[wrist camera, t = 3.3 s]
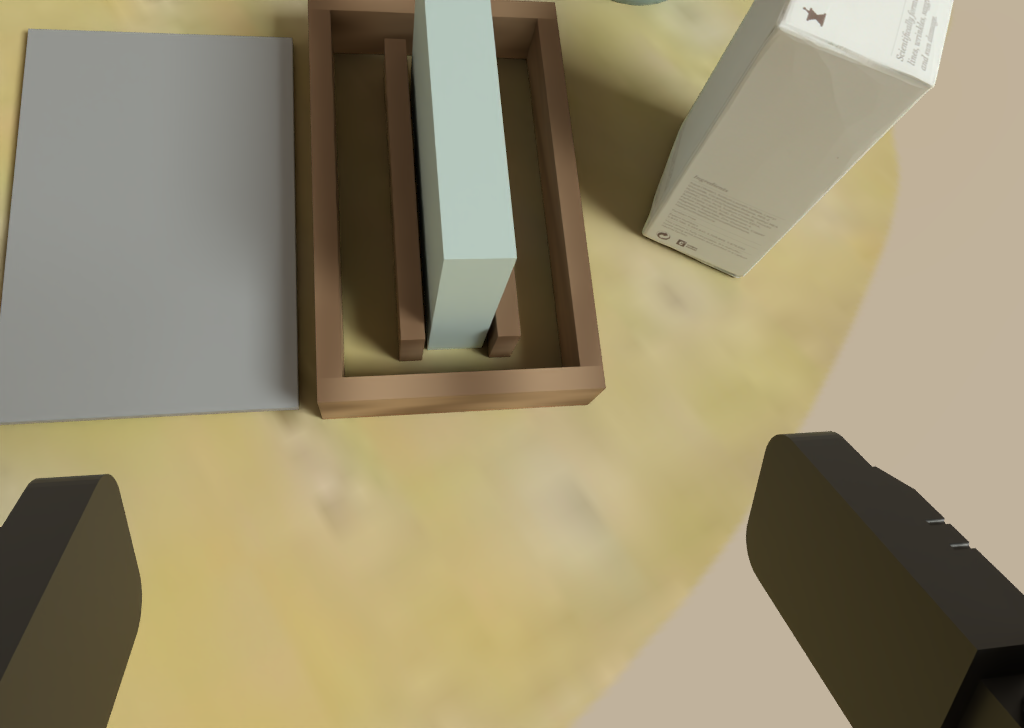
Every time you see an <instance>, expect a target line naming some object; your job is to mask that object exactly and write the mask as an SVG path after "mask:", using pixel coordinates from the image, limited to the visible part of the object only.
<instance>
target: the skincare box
mask: <svg viewBox="0 0 1024 728" xmlns="http://www.w3.org/2000/svg"><path fill="white" fill-rule="evenodd" d="M953 1H954V0H754V2H753V4H752V6H751V7H750V9H749V11H748V12H747V14H746V16H745V18H744V19H743V21H742V23H741V24H740V26H739V28H738V29H737V31H736V33H735V35H734V36H733V38H732V40H731V41H730V43H729V45H728V47H727V48H726V50H725V52H724V53H723V55H722V57H721V59H720V60H719V62H718V64H717V65H716V67H715V69H714V70H713V72H712V74H711V76H710V77H709V79H708V81H707V82H706V84H705V86H704V87H703V89H702V91H701V93H700V94H699V96H698V98H697V99H696V101H695V103H694V104H693V106H692V108H691V110H690V111H689V113H688V115H687V117H686V118H685V119H684V121H683V123H682V125H681V127H680V129H679V132H678V134H677V137H676V139H675V142H674V145H673V147H672V150H671V153H670V155H669V158H668V161H667V164H666V166H665V169H664V172H663V174H662V177H661V180H660V183H659V185H658V188H657V191H656V194H655V197H654V200H653V204H652V208H651V211H650V214H649V216H648V219H647V221H646V223H645V225H644V228H643V230H642V234H643V235H644V236H646V237H648V238H650V239H652V240H654V241H656V242H658V243H661V244H663V245H666V246H669V247H671V248H673V249H675V250H677V251H679V252H682V253H684V254H686V255H688V256H690V257H692V258H695V259H696V260H698V261H700V262H702V263H704V264H707V265H709V266H711V267H713V268H716V269H718V270H720V271H722V272H725V273H727V274H729V275H731V276H733V277H736V278H740V277H743V276H745V275H746V274H747V273H748V272H749V271H750V270H751V269H752V268H753V267H754V266H755V265H756V264H757V263H758V262H759V261H760V260H761V259H762V258H763V257H764V256H765V255H766V254H767V253H768V252H769V251H770V250H771V249H772V248H773V247H774V245H775V244H776V243H777V242H778V241H779V240H780V239H781V238H782V237H783V236H784V235H785V234H786V233H787V232H788V231H789V230H790V229H791V228H792V227H793V226H794V225H795V224H796V223H797V222H798V221H799V220H800V219H801V218H802V217H803V216H805V215H806V214H807V213H808V211H809V210H810V209H811V208H812V207H813V206H814V205H815V204H816V203H817V202H818V201H819V200H820V199H821V198H822V197H823V196H824V195H825V194H826V193H827V192H828V191H829V190H830V189H831V188H832V187H833V186H834V185H835V184H836V183H837V182H838V181H839V180H840V179H841V178H842V177H843V176H844V175H845V174H846V173H847V172H848V171H849V170H850V169H851V168H852V167H853V166H854V165H855V164H856V163H857V162H858V160H859V159H860V158H861V157H862V156H863V155H864V154H865V153H866V152H867V151H868V150H869V149H870V148H871V147H872V146H873V145H874V144H875V143H876V142H877V141H878V140H879V139H880V138H881V137H882V136H883V135H884V134H885V133H886V132H887V131H888V130H889V129H890V128H891V127H892V126H893V125H894V124H895V123H896V122H897V121H898V120H899V119H900V118H901V117H902V116H903V115H904V114H905V113H906V112H907V111H908V110H909V109H910V108H911V107H912V106H913V105H914V104H915V103H916V102H917V101H918V100H919V99H920V98H921V97H922V96H923V95H924V94H925V93H927V91H929V90H930V89H931V88H933V87H934V85H935V82H936V78H937V74H938V69H939V65H940V60H941V55H942V51H943V46H944V42H945V37H946V33H947V28H948V24H949V19H950V15H951V10H952V6H953Z"/></svg>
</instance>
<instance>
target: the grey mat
mask: <svg viewBox="0 0 1024 728" xmlns="http://www.w3.org/2000/svg"><path fill="white" fill-rule="evenodd" d="M296 409H299V388H298V326H297V265H296V203H295V141H294V80H293V41H292V38H284V37H254V36H225V35H195V34H165V33H136V32H106V31H77V30H47V29H28V39H27V49H26V59H25V70H24V80H23V90H22V100H21V110H20V120H19V130H18V140H17V150H16V161H15V171H14V181H13V191H12V201H11V211H10V221H9V231H8V242H7V252H6V262H5V272H4V282H3V292H2V302H1V312H0V425H8V424H27V423H46V422H66V421H85V420H104V419H123V418H142V417H161V416H181V415H200V414H219V413H238V412H257V411H276V410H296Z"/></svg>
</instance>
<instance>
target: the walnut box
mask: <svg viewBox="0 0 1024 728" xmlns="http://www.w3.org/2000/svg"><path fill="white" fill-rule="evenodd" d="M490 2H491V12H492V21H493V31H494V41H495V50H496V58H518V59H527V67H528V76H529V84H530V93H531V102H532V110H533V119H534V127H535V136H536V144H537V153H538V162H539V170H540V179H541V187H542V196H543V205H544V213H545V222H546V230H547V239H548V247H549V256H550V265H551V273H552V282H553V290H554V299H555V307H556V316H557V325H558V333H559V342H560V350H561V359H562V368H540V369H518V370H495V371H473V372H451V373H429V374H407V375H385V376H363V377H345V370H344V340H343V311H342V281H341V252H340V222H339V192H338V163H337V133H336V103H335V74H334V53H355V54H384V88H385V106H386V124H387V143H388V161H389V179H390V197H391V216H392V234H393V252H394V270H395V289H396V307H397V325H398V343H399V361H415V360H422V355H423V349H424V343H425V328H424V313H423V298H422V282H421V267H420V252H419V236H418V221H417V206H416V190H415V175H414V160H413V144H412V129H411V113H410V98H409V83H408V67H407V55H412V49H413V31H414V13H415V0H308V24H309V67H310V110H311V153H312V196H313V240H314V283H315V326H316V369H317V403H318V406H319V409H320V413H321V416H322V419H336V418H354V417H373V416H391V415H409V414H428V413H446V412H464V411H482V410H501V409H519V408H537V407H555V406H574V405H588V404H589V403H590V402H591V401H592V400H593V399H594V398H596V397H597V396H598V395H599V394H600V393H601V392H602V391H603V390H604V389H605V388H606V386H605V378H604V371H603V363H602V356H601V348H600V341H599V333H598V325H597V318H596V310H595V303H594V295H593V288H592V280H591V272H590V265H589V257H588V250H587V242H586V234H585V227H584V219H583V212H582V204H581V197H580V189H579V181H578V174H577V166H576V159H575V151H574V144H573V136H572V128H571V121H570V113H569V106H568V98H567V90H566V83H565V75H564V68H563V60H562V53H561V45H560V37H559V30H558V22H557V15H556V7H555V2H532V1H510V0H490ZM520 337H521V330H520V320H519V310H518V300H517V290H516V281H515V271H514V267H513V269H512V272H511V274H510V277H509V279H508V282H507V284H506V287H505V289H504V292H503V294H502V297H501V300H500V302H499V305H498V307H497V310H496V312H495V315H494V317H493V320H492V322H491V325H490V327H489V330H488V332H487V344H488V355H489V357H510V355H511V354H512V352H513V350H514V348H515V346H516V344H517V342H518V341H519V339H520Z"/></svg>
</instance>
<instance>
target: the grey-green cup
mask: <svg viewBox="0 0 1024 728" xmlns="http://www.w3.org/2000/svg"><path fill="white" fill-rule="evenodd" d="M613 1H616V2H619V3H624V4H629V5H651V4H657V3H660V2H663V1H666V0H613Z"/></svg>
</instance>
